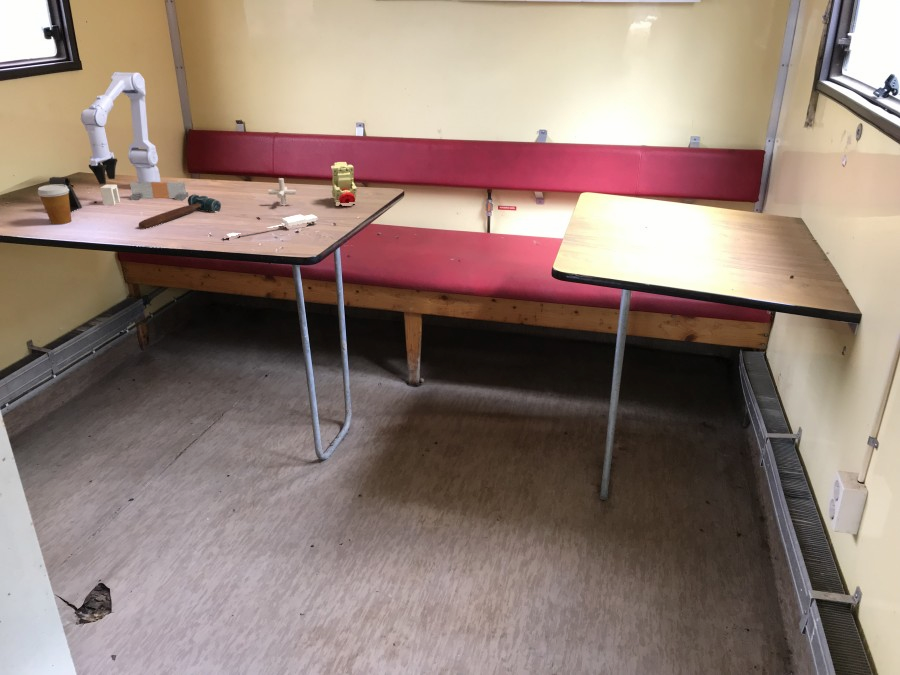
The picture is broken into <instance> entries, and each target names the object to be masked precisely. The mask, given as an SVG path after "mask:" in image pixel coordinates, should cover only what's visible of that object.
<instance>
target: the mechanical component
mask: <svg viewBox="0 0 900 675" xmlns="http://www.w3.org/2000/svg"><path fill="white" fill-rule="evenodd" d="M330 169H331V171H332V190H331V194H332V198H333V200H334V203H335V202H340V203H349V202H355V200H356V201H357V199H356V198H357V192H358V189H357V186H356V184H355V183H354V174H355V173H354V172H355V170H354V166H353V165H352V164H347V162H346V161H337V162H334V163H333V165H331V166H330Z"/></svg>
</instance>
